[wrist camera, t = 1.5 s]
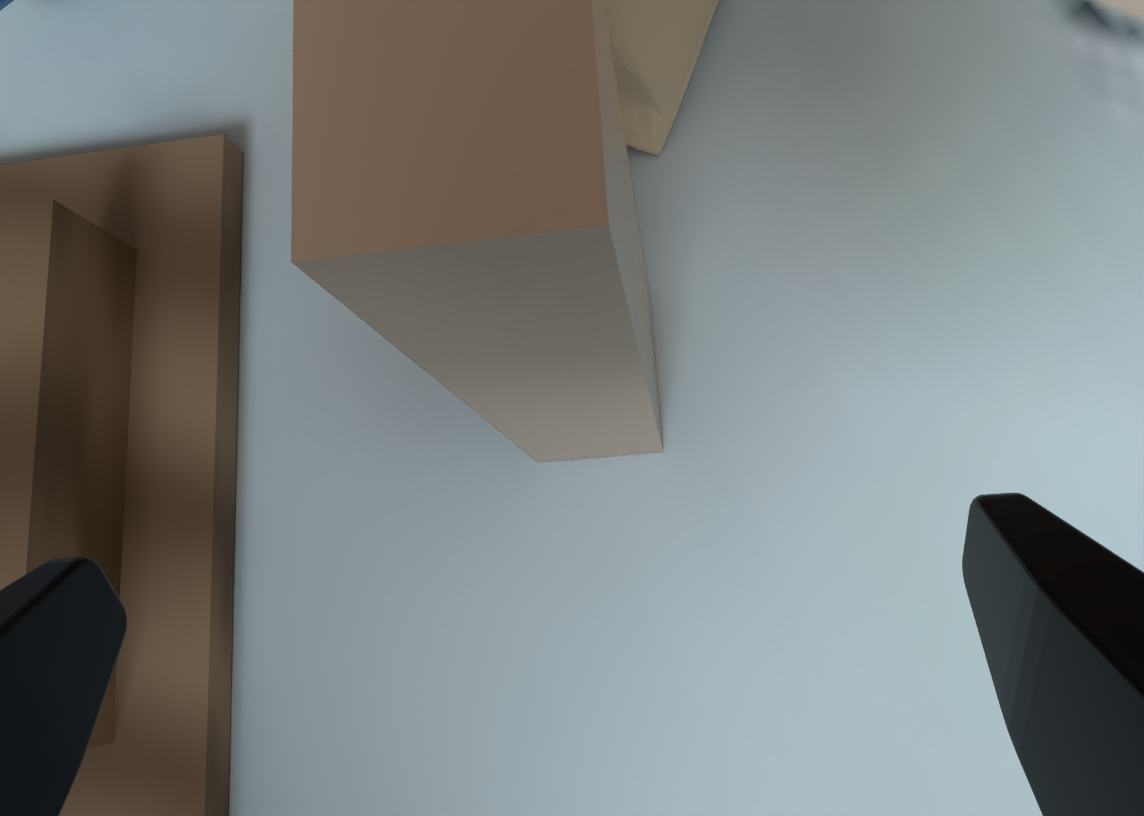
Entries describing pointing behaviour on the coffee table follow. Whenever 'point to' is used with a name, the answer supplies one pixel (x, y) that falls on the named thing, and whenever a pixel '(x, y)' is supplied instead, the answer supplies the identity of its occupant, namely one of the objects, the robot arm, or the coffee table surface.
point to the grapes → (4, 3)
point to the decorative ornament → (654, 62)
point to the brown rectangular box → (481, 208)
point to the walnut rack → (131, 440)
